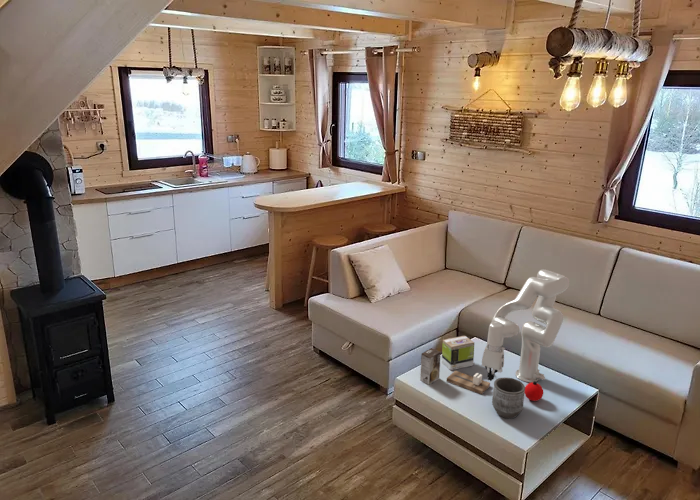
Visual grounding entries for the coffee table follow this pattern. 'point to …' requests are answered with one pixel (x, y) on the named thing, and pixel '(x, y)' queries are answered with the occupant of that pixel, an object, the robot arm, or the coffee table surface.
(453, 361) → the tea box
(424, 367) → the coffee box
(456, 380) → the fader console
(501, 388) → the planter
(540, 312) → the robot arm
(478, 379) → the fader
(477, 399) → the coffee table surface
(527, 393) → the ornament
